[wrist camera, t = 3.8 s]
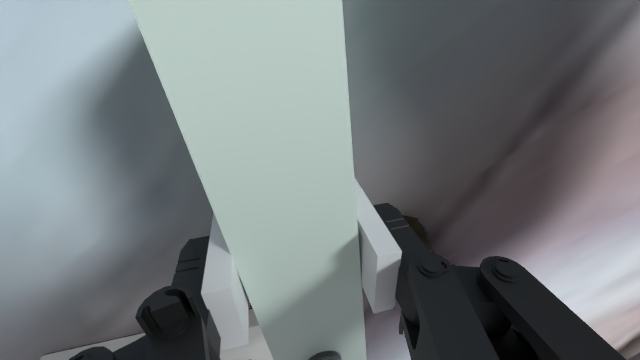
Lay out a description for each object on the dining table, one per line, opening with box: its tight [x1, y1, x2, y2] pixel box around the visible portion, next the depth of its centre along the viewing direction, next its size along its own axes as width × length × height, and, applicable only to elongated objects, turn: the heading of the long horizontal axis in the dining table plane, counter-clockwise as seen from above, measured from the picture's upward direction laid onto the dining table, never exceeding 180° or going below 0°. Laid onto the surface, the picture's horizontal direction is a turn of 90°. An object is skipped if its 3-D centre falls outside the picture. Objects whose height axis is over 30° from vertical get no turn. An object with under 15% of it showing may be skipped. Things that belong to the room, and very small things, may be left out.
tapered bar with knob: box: [128, 0, 367, 360], centre depth 13 cm, size 4×18×9 cm, turn 7°
